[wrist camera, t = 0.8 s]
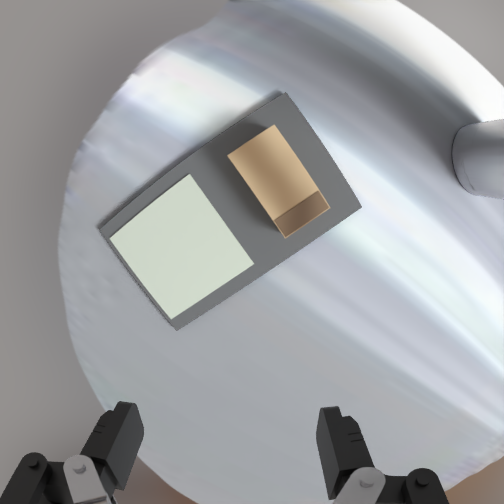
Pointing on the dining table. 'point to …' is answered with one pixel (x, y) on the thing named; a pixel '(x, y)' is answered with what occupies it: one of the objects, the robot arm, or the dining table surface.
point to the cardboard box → (279, 181)
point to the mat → (220, 219)
